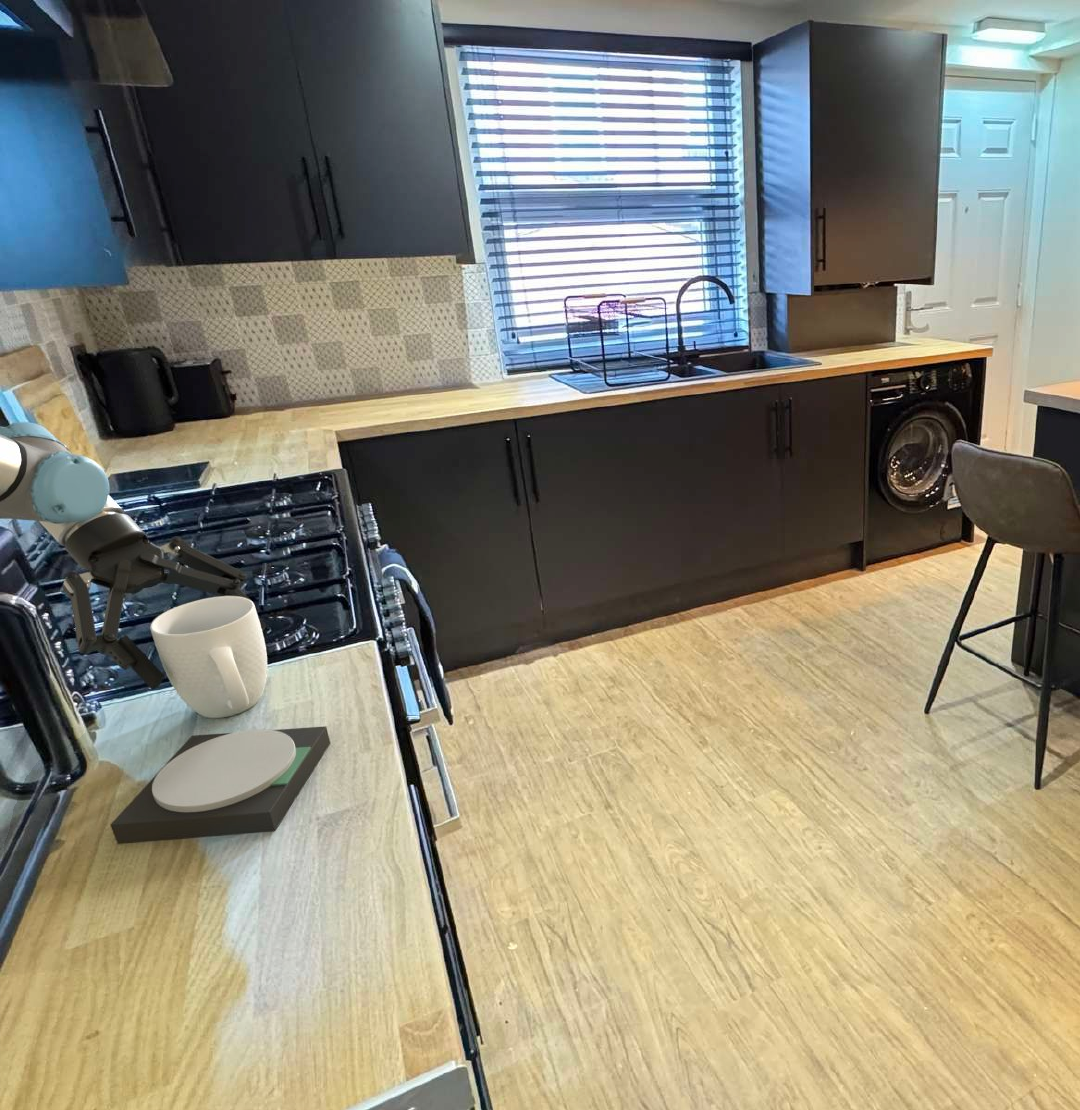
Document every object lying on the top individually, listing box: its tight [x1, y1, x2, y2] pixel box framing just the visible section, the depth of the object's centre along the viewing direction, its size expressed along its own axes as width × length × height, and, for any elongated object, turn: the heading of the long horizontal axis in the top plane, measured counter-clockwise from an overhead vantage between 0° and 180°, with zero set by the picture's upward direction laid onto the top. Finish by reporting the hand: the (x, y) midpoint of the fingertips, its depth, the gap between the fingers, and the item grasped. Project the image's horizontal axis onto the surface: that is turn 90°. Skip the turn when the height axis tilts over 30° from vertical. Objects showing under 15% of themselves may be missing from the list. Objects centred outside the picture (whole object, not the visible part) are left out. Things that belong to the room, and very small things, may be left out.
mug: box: [149, 596, 268, 719], centre depth 97 cm, size 15×11×13 cm
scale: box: [110, 725, 331, 845], centre depth 85 cm, size 15×15×3 cm
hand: (213, 656), depth 98 cm, fingers open, 13 cm apart
